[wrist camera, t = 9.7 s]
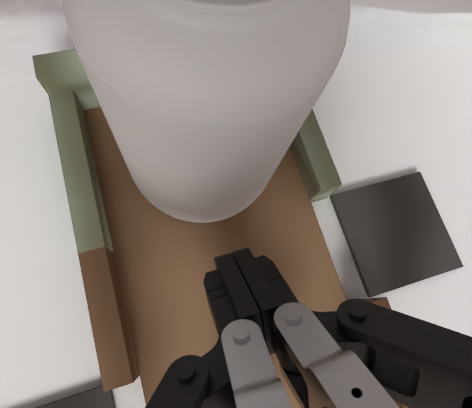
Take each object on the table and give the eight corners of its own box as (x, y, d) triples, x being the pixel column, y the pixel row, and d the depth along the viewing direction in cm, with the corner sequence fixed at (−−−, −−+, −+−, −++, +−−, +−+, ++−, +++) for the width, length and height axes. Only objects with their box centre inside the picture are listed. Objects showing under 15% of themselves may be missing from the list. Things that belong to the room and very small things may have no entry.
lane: (12, 798, 13) (-64, 1000, 9) (-56, 124, 20) (-115, 80, 16) (570, 511, 18) (673, 566, 14) (359, 46, 25) (389, -3, 21)
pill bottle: (263, 237, 19) (452, 31, 5) (115, 212, 19) (-132, -89, 5) (278, 110, 22) (436, -271, 8) (147, 86, 21) (48, -372, 7)
